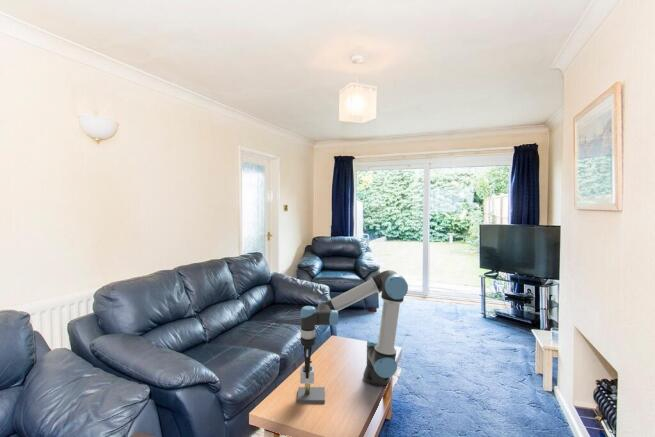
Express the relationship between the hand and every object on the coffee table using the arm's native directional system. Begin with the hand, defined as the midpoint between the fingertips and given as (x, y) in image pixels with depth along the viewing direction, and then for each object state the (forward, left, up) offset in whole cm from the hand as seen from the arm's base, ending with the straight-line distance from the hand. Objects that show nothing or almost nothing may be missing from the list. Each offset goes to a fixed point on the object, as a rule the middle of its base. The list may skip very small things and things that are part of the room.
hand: (307, 379), depth 178 cm
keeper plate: (-2, 0, -9) cm, 9 cm away
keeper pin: (0, 0, -7) cm, 7 cm away
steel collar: (0, 0, 0) cm, 0 cm away
